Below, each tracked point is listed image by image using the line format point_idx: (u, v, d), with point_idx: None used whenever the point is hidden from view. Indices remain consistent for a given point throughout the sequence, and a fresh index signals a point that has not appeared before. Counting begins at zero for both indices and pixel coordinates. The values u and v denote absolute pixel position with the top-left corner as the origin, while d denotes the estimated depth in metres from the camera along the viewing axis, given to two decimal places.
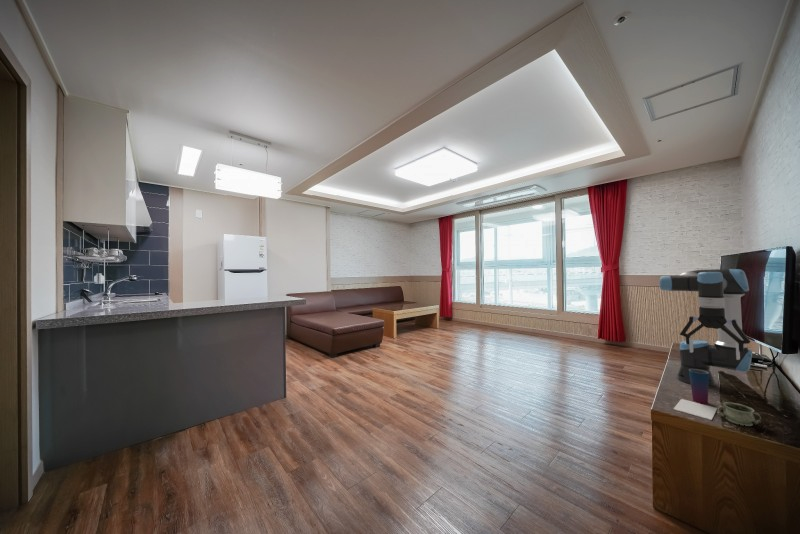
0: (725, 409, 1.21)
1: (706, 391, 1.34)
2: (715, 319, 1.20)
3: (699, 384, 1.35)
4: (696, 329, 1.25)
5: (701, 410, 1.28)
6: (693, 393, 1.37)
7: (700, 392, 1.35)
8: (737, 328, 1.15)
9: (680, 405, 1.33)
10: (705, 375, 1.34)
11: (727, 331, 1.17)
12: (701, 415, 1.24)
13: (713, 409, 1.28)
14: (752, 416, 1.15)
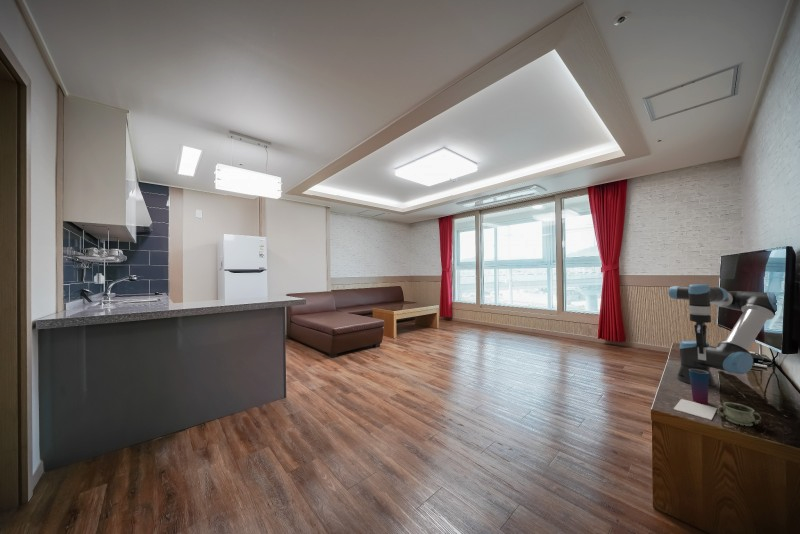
0: (725, 409, 1.21)
1: (706, 391, 1.34)
2: None
3: (699, 384, 1.35)
4: None
5: (701, 410, 1.28)
6: (693, 393, 1.37)
7: (700, 392, 1.35)
8: None
9: (680, 405, 1.33)
10: (705, 375, 1.34)
11: None
12: (701, 415, 1.24)
13: (713, 409, 1.28)
14: (752, 416, 1.15)
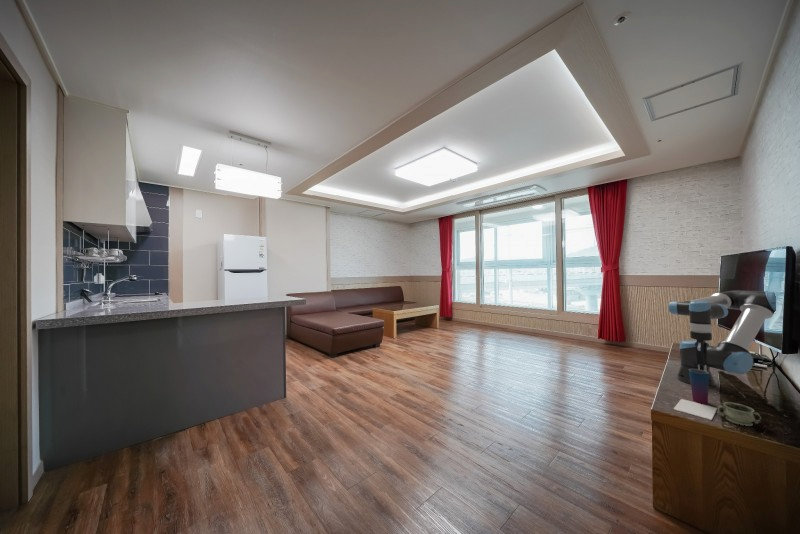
0: (725, 409, 1.21)
1: (706, 391, 1.34)
2: (697, 339, 1.43)
3: (699, 384, 1.35)
4: None
5: (701, 410, 1.28)
6: (693, 393, 1.37)
7: (700, 392, 1.35)
8: (696, 352, 1.41)
9: (680, 405, 1.33)
10: (705, 375, 1.34)
11: None
12: (701, 415, 1.24)
13: (713, 409, 1.28)
14: (752, 416, 1.15)
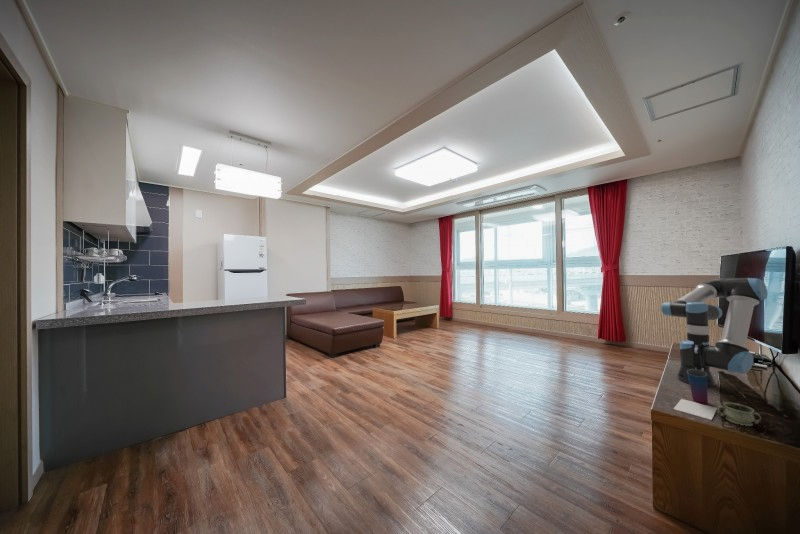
0: (725, 409, 1.21)
1: (705, 392, 1.33)
2: None
3: (698, 386, 1.33)
4: None
5: (701, 410, 1.28)
6: (693, 394, 1.37)
7: (699, 393, 1.34)
8: (693, 355, 1.37)
9: (680, 405, 1.33)
10: (703, 378, 1.31)
11: None
12: (701, 415, 1.24)
13: (713, 409, 1.28)
14: (752, 416, 1.15)
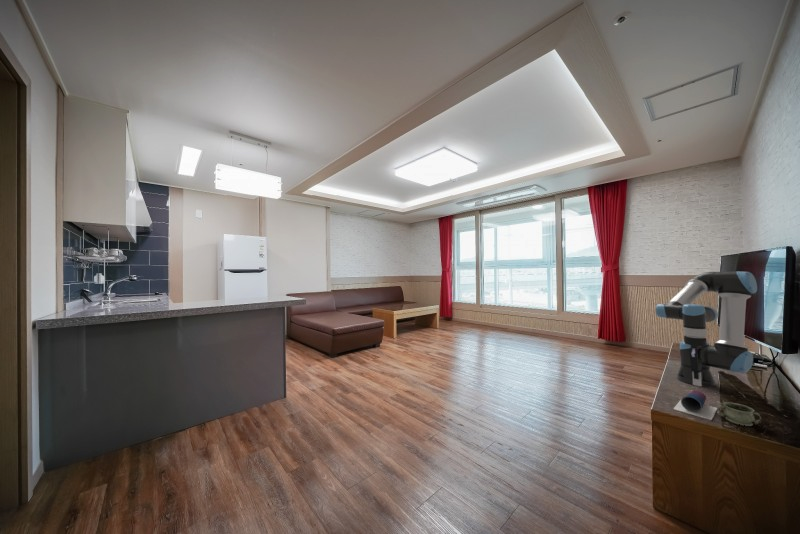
0: (725, 409, 1.21)
1: None
2: (691, 345, 1.34)
3: None
4: None
5: (701, 410, 1.28)
6: None
7: None
8: (690, 358, 1.32)
9: (680, 405, 1.33)
10: (700, 410, 1.25)
11: None
12: (701, 415, 1.24)
13: (713, 409, 1.28)
14: (752, 416, 1.15)
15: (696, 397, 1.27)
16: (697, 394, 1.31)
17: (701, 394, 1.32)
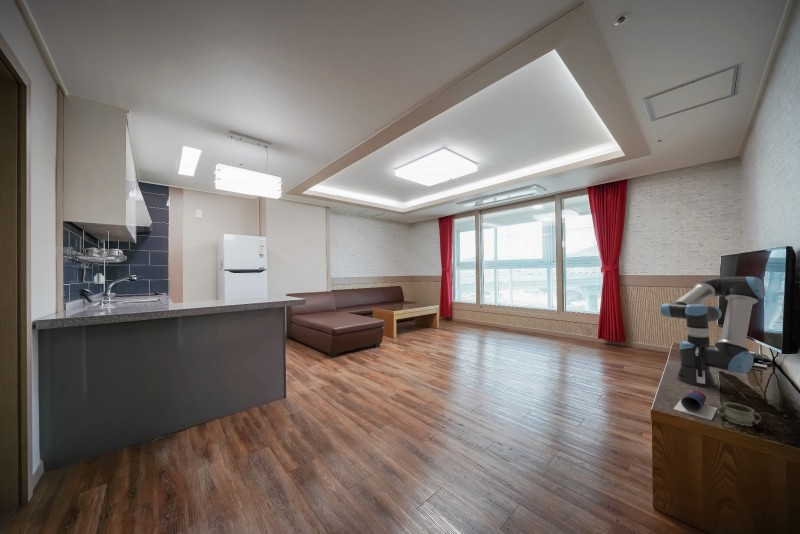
0: (725, 409, 1.21)
1: None
2: None
3: None
4: None
5: (701, 410, 1.28)
6: None
7: None
8: (694, 357, 1.36)
9: (680, 405, 1.33)
10: (700, 410, 1.25)
11: None
12: (701, 415, 1.24)
13: (713, 409, 1.28)
14: (752, 416, 1.15)
15: (696, 397, 1.27)
16: (697, 394, 1.31)
17: (701, 394, 1.32)
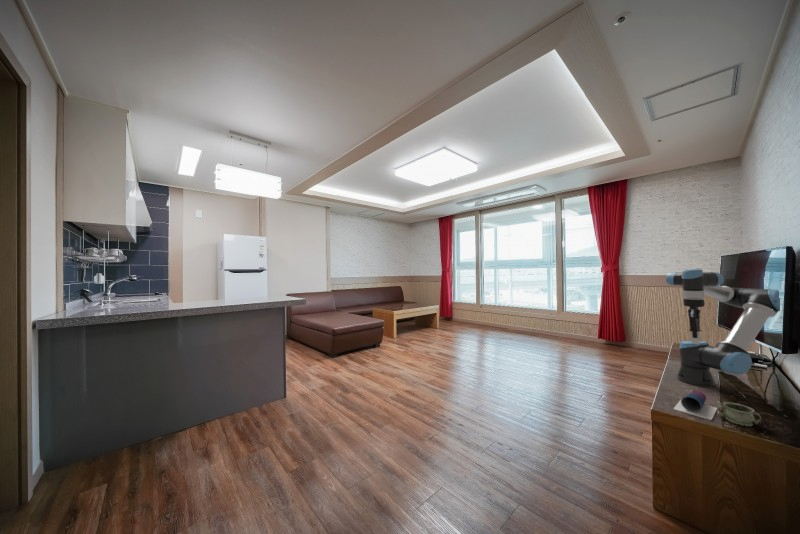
0: (725, 409, 1.21)
1: None
2: None
3: None
4: None
5: (701, 410, 1.28)
6: None
7: None
8: (689, 319, 1.43)
9: (680, 405, 1.33)
10: (700, 410, 1.25)
11: None
12: (701, 415, 1.24)
13: (713, 409, 1.28)
14: (752, 416, 1.15)
15: (696, 397, 1.27)
16: (697, 394, 1.31)
17: (701, 394, 1.32)
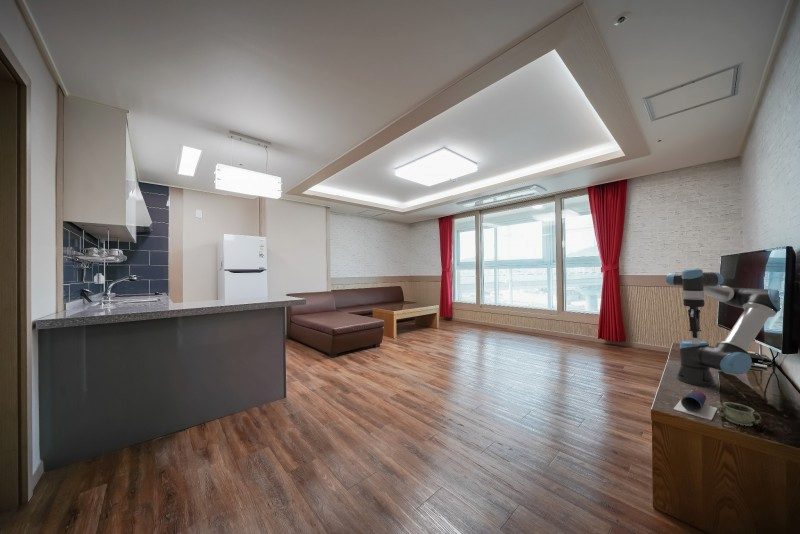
0: (725, 409, 1.21)
1: None
2: None
3: None
4: None
5: (701, 410, 1.28)
6: None
7: None
8: (689, 319, 1.43)
9: (680, 405, 1.33)
10: (700, 410, 1.25)
11: None
12: (701, 415, 1.24)
13: (713, 409, 1.28)
14: (752, 416, 1.15)
15: (696, 397, 1.27)
16: (697, 394, 1.31)
17: (701, 394, 1.32)
